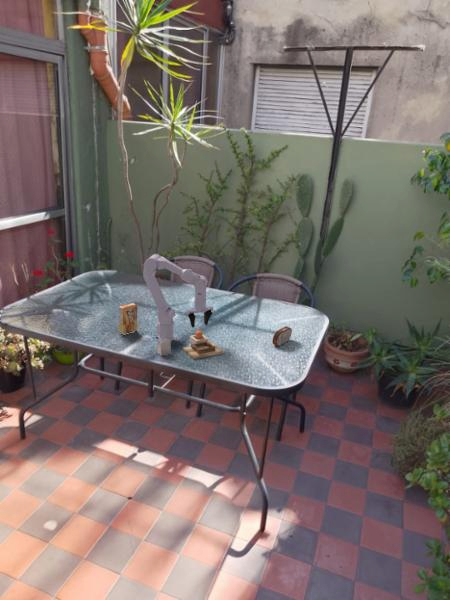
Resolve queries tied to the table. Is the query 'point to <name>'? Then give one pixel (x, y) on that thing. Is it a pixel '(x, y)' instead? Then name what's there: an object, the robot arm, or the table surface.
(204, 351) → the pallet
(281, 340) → the sandwich
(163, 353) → the billet
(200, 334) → the button
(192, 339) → the button housing
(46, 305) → the table surface
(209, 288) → the table surface
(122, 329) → the candy box
